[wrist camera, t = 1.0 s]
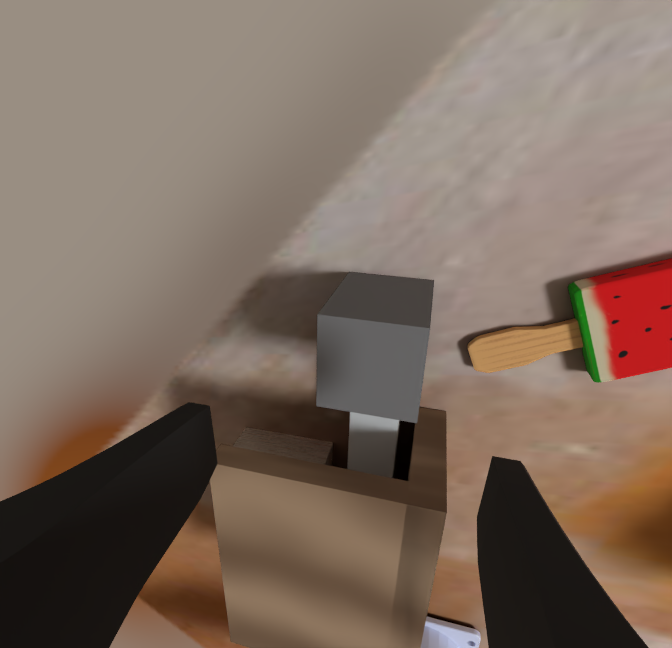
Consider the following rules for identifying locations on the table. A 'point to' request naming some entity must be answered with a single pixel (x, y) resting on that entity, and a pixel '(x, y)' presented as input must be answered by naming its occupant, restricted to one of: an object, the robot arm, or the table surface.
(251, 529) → the wooden corner piece
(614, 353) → the popsicle
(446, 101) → the table surface
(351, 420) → the hammer
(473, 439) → the table surface
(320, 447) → the block
